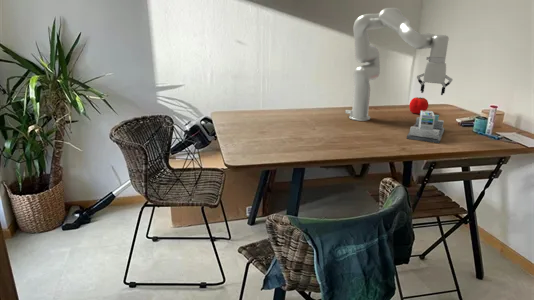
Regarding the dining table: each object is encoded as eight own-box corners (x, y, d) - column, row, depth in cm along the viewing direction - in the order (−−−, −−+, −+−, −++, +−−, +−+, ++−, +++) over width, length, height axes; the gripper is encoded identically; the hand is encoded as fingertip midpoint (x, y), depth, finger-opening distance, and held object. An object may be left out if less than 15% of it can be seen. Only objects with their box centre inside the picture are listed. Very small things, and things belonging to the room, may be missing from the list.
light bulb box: (432, 136, 221) (435, 115, 217) (418, 134, 222) (421, 114, 219) (430, 130, 231) (433, 110, 227) (417, 129, 232) (420, 109, 229)
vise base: (406, 138, 221) (407, 127, 219) (414, 126, 242) (415, 116, 240) (439, 143, 215) (441, 132, 213) (444, 130, 236) (445, 120, 234)
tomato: (403, 111, 274) (405, 96, 270) (418, 110, 279) (420, 94, 276) (416, 116, 264) (419, 99, 261) (431, 114, 270) (434, 98, 266)
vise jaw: (415, 125, 238) (416, 114, 236) (417, 122, 243) (418, 112, 241) (442, 128, 233) (443, 118, 231) (443, 126, 238) (444, 115, 236)
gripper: (418, 59, 216) (413, 92, 222) (454, 62, 209) (449, 97, 215) (420, 58, 223) (416, 90, 228) (456, 60, 215) (450, 94, 221)
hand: (432, 93), depth 221 cm, fingers open, 9 cm apart
